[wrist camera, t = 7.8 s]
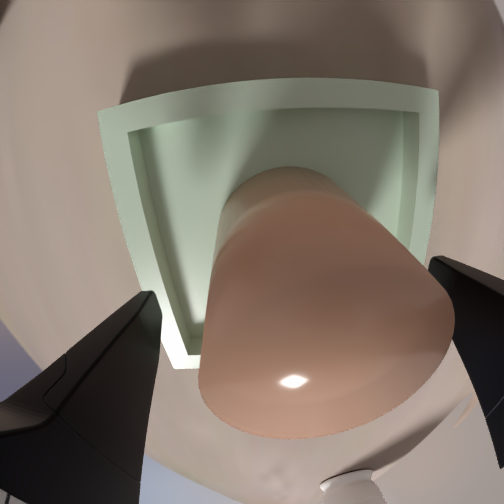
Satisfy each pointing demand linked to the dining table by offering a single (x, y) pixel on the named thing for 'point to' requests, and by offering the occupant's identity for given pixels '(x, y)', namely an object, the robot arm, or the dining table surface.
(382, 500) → the jar
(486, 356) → the robot arm
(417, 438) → the dining table surface
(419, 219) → the tray
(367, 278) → the pink rounded cylinder
